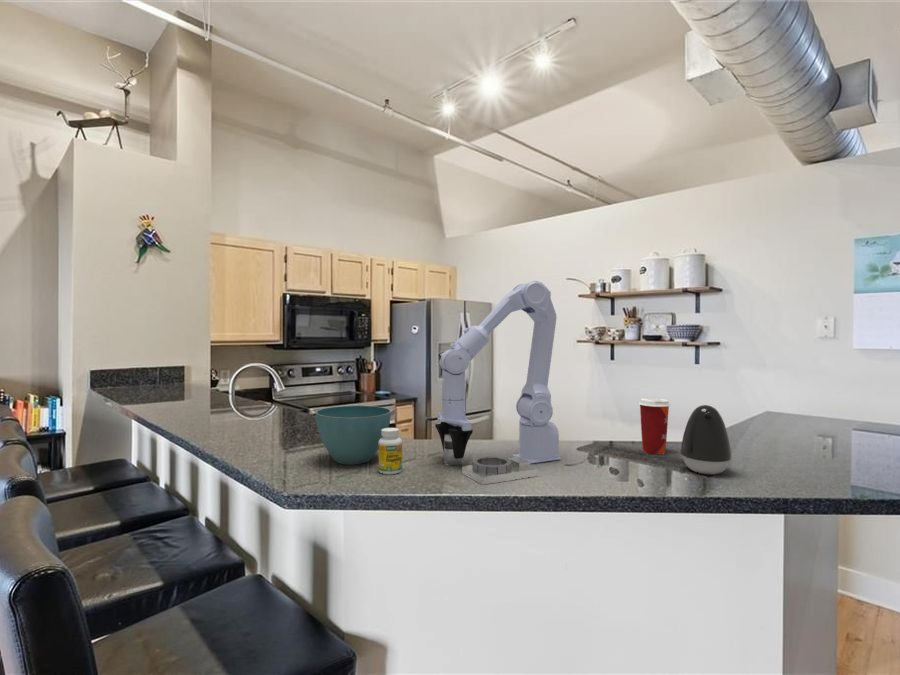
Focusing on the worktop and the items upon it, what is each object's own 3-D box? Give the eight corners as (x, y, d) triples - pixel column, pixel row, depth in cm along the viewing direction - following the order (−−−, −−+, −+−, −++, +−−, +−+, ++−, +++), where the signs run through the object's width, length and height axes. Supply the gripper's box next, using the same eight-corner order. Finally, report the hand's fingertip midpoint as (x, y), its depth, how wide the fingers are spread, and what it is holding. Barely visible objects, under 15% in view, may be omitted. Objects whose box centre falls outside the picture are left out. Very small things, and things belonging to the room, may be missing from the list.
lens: (457, 459, 120) (457, 430, 120) (466, 464, 116) (466, 434, 116) (440, 462, 118) (440, 432, 118) (448, 466, 114) (449, 436, 114)
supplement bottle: (395, 466, 114) (395, 426, 114) (406, 472, 109) (406, 430, 109) (374, 470, 111) (374, 428, 111) (384, 476, 106) (384, 432, 106)
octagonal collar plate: (514, 466, 115) (514, 452, 115) (537, 476, 107) (537, 461, 107) (462, 473, 109) (462, 459, 109) (482, 484, 101) (482, 469, 100)
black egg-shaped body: (683, 475, 108) (683, 407, 107) (678, 463, 117) (679, 401, 117) (735, 480, 104) (736, 409, 104) (726, 467, 114) (727, 403, 114)
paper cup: (674, 455, 125) (675, 401, 125) (644, 455, 125) (645, 401, 125) (662, 448, 133) (662, 397, 132) (633, 448, 133) (634, 397, 132)
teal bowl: (383, 449, 131) (383, 403, 131) (397, 466, 114) (397, 414, 114) (313, 454, 125) (313, 406, 125) (317, 473, 108) (317, 418, 108)
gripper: (426, 396, 122) (426, 450, 122) (452, 404, 109) (451, 464, 109) (451, 394, 125) (451, 447, 125) (479, 402, 112) (479, 460, 112)
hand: (453, 455), depth 117 cm, fingers open, 5 cm apart
